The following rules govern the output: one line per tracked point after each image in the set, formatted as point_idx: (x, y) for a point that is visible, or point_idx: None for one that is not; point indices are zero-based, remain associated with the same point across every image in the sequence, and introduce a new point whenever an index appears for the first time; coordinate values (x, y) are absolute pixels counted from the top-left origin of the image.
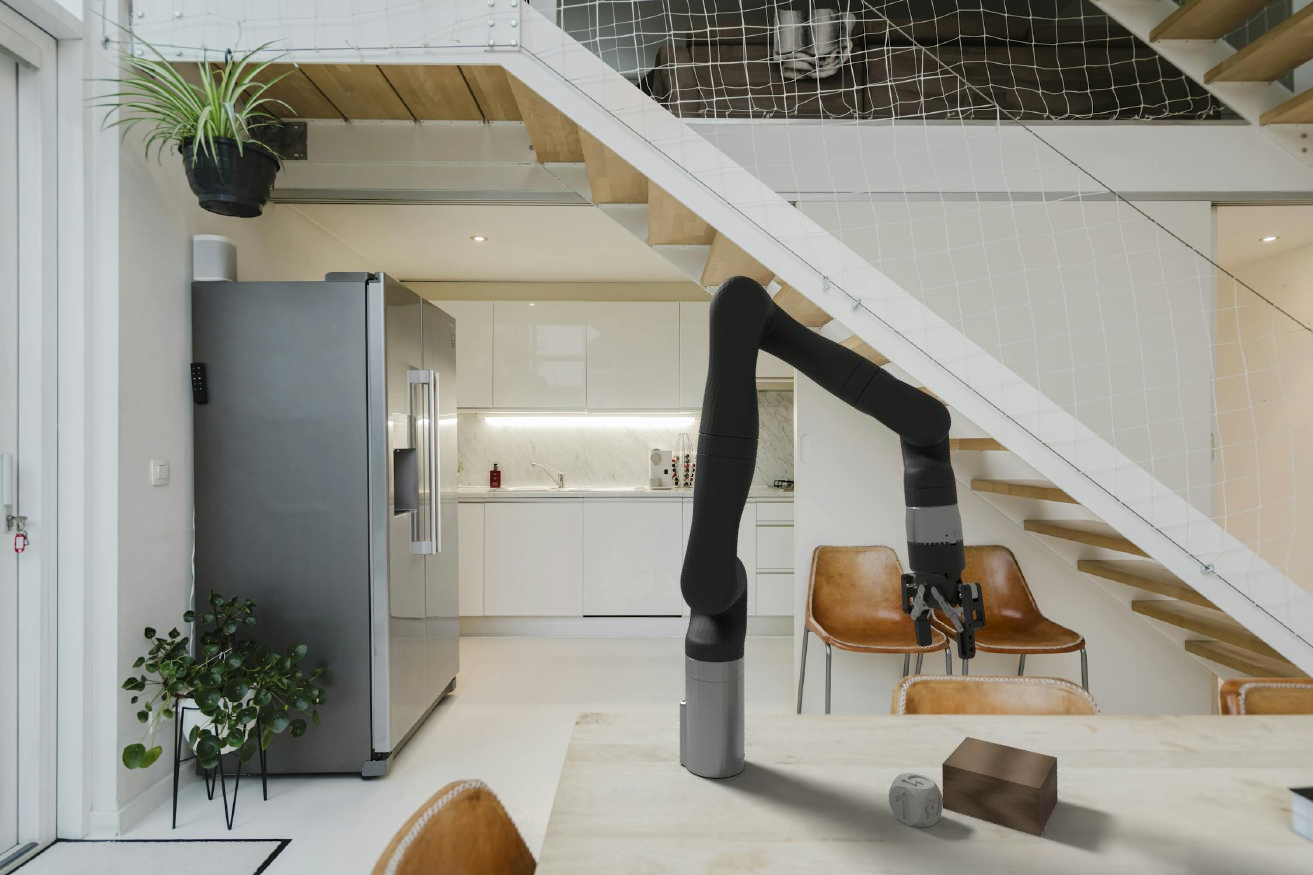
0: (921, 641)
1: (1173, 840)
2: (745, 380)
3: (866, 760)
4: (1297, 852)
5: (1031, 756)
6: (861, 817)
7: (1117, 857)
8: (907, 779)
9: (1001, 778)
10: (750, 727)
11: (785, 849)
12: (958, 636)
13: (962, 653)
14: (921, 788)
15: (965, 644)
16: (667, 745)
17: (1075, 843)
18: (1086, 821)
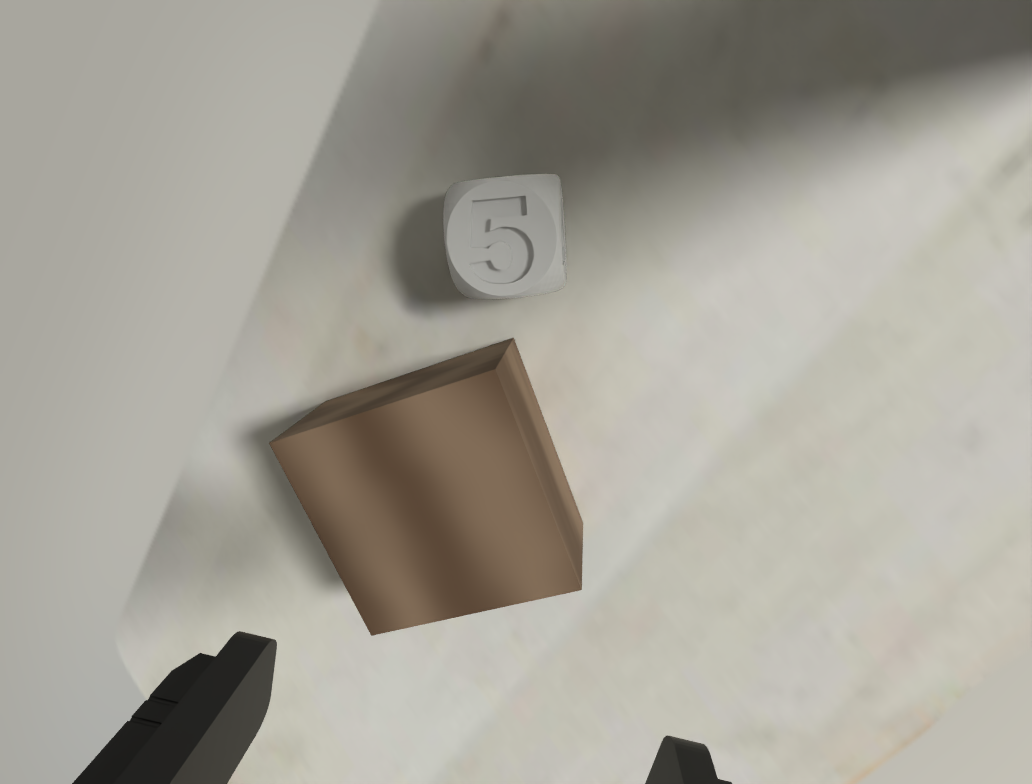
0: (672, 771)
1: (221, 576)
2: None
3: (820, 401)
4: (133, 672)
5: (404, 597)
6: (599, 100)
7: (218, 445)
8: (520, 225)
9: (349, 418)
10: None
11: None
12: (139, 775)
13: (216, 659)
14: (456, 211)
15: (140, 724)
16: None
17: (280, 432)
18: None
